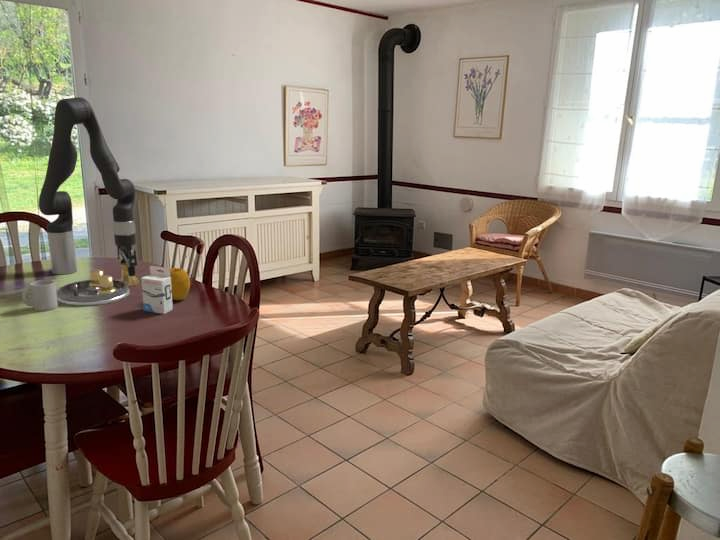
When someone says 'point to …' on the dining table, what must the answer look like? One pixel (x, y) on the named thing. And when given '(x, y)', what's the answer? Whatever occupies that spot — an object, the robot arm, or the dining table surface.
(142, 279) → the ink box
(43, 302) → the cup
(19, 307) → the dining table surface
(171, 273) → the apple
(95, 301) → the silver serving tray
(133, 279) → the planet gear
